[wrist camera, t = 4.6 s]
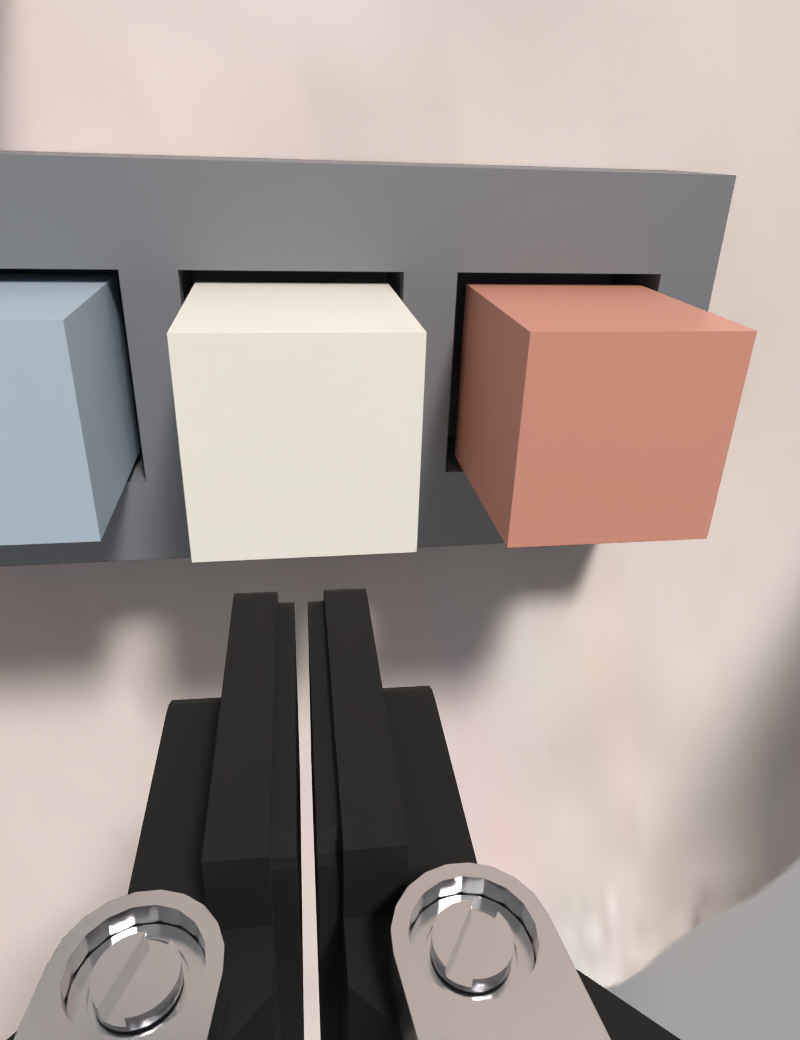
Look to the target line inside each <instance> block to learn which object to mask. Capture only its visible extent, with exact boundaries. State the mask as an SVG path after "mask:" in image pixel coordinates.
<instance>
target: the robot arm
mask: <svg viewBox="0 0 800 1040" xmlns="http://www.w3.org/2000/svg"><path fill="white" fill-rule="evenodd" d="M308 636H309V679H310V722H311V764H312V796H313V826H314V855H315V885H316V914H317V944H318V973H319V1003H320V1032H321V1040H680V1039H679V1038H677V1037H676V1036H674V1035H673V1034H671V1033H670V1032H669V1031H667V1030H665V1029H664V1028H662V1027H661V1026H660V1025H658V1024H657V1023H655V1022H654V1021H652V1020H651V1019H649V1018H648V1017H646V1016H645V1015H643V1014H641V1013H640V1012H639V1011H637V1010H636V1009H635V1008H633V1007H631V1006H630V1005H629V1004H627V1003H626V1002H624V1001H623V1000H621V999H620V998H618V997H617V996H615V995H614V994H612V993H611V992H609V991H608V990H606V989H605V988H603V987H602V986H601V985H599V984H598V983H596V982H595V981H593V980H592V979H590V978H589V977H587V976H586V975H584V974H583V973H581V972H580V971H578V970H577V969H575V967H574V965H573V963H572V961H571V959H570V956H569V954H568V952H567V950H566V948H565V946H564V944H563V942H562V940H561V938H560V936H559V934H558V932H557V930H556V928H555V926H554V924H553V922H552V920H551V918H550V916H549V914H548V913H547V911H546V910H545V908H544V907H543V906H542V904H541V903H540V901H539V900H538V898H537V897H536V895H535V894H534V893H533V892H532V891H531V890H529V889H528V888H527V887H526V886H525V885H523V884H522V883H521V882H520V881H519V880H518V879H516V878H515V877H513V876H511V875H509V874H507V873H505V872H503V871H501V870H498V869H496V868H494V867H491V866H486V865H480V864H477V861H476V857H475V853H474V849H473V846H472V842H471V838H470V834H469V830H468V826H467V822H466V818H465V814H464V811H463V807H462V803H461V799H460V795H459V791H458V787H457V783H456V779H455V775H454V772H453V768H452V764H451V760H450V756H449V752H448V748H447V744H446V740H445V737H444V733H443V729H442V725H441V721H440V717H439V713H438V709H437V705H436V701H435V698H434V695H433V692H432V689H431V688H430V686H416V687H399V688H382V683H381V677H380V671H379V665H378V659H377V653H376V647H375V641H374V635H373V629H372V623H371V617H370V611H369V605H368V599H367V593H366V589H340V590H324V601H317V602H308ZM7 1040H304V1011H303V945H302V880H301V815H300V762H299V731H298V701H297V670H296V640H295V610H294V602H292V603H278V594H277V592H263V593H237V594H234V598H233V606H232V614H231V622H230V630H229V639H228V647H227V655H226V663H225V671H224V680H223V688H222V696H221V698H205V699H187V700H172V701H171V702H170V704H169V706H168V710H167V713H166V718H165V722H164V727H163V732H162V736H161V741H160V746H159V750H158V755H157V760H156V764H155V769H154V774H153V778H152V783H151V788H150V792H149V797H148V802H147V807H146V811H145V816H144V821H143V825H142V830H141V835H140V839H139V844H138V849H137V853H136V858H135V863H134V867H133V872H132V877H131V881H130V886H129V891H128V895H126V896H123V897H120V898H118V899H115V900H112V901H109V902H108V903H106V904H104V905H103V906H101V907H100V908H98V909H97V910H95V911H93V912H92V913H90V914H89V915H87V916H86V917H84V918H83V919H82V920H81V921H80V922H79V923H78V924H77V925H76V926H75V927H74V928H73V929H72V930H71V931H70V932H69V933H68V934H67V935H66V936H65V937H64V938H63V939H62V941H61V943H60V944H59V946H58V948H57V949H56V951H55V952H54V954H53V956H52V957H51V959H50V961H49V962H48V964H47V966H46V968H45V970H44V973H43V975H42V977H41V979H40V982H39V984H38V986H37V988H36V990H35V993H34V995H33V997H32V999H31V1002H30V1004H29V1006H28V1008H27V1011H26V1013H25V1015H24V1017H23V1020H22V1022H21V1024H20V1026H19V1028H18V1031H17V1032H15V1033H14V1034H13V1035H12V1036H11V1037H10V1038H8V1039H7Z"/></svg>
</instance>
